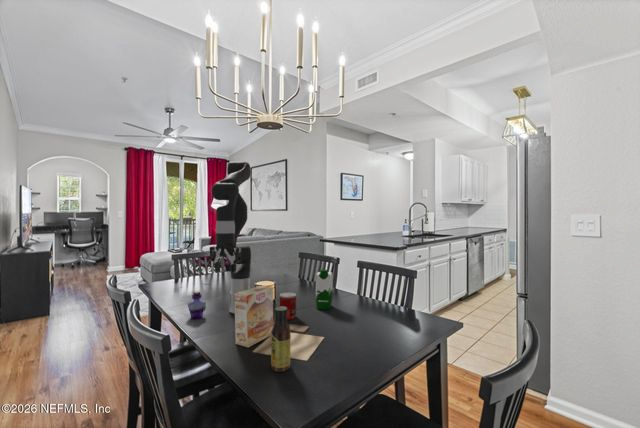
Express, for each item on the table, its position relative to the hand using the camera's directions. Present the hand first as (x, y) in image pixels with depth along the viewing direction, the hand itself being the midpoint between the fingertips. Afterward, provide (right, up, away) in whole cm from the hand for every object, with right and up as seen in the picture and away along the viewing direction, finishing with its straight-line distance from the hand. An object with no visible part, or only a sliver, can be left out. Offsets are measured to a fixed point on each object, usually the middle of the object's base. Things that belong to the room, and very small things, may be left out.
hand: (225, 272), depth 126 cm
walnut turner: (+23, -26, +9) cm, 36 cm away
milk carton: (+41, -26, +37) cm, 60 cm away
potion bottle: (-20, -26, +20) cm, 38 cm away
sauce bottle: (+26, -27, -26) cm, 45 cm away
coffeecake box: (+13, -26, -4) cm, 29 cm away
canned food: (+23, -26, +21) cm, 41 cm away
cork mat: (+27, -26, -9) cm, 39 cm away
